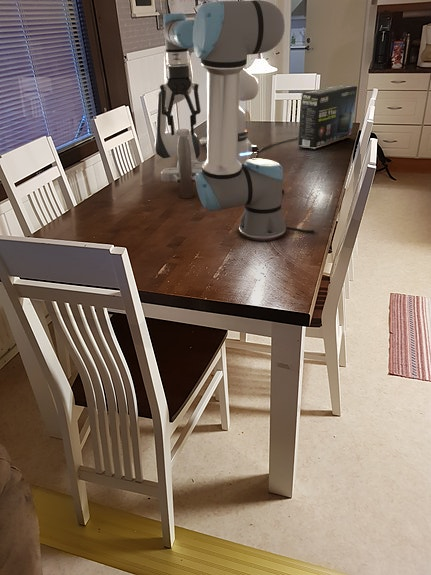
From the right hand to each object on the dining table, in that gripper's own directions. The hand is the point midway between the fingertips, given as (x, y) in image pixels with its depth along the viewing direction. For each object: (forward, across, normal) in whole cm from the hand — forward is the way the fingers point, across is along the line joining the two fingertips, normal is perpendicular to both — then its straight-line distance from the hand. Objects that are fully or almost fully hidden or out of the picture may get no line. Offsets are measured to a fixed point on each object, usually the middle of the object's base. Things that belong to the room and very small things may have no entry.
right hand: (182, 134), depth 169 cm
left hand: (+17, 0, -1) cm, 17 cm away
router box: (+24, +65, +79) cm, 105 cm away
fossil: (+24, +6, +81) cm, 85 cm away
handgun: (+24, +32, +10) cm, 42 cm away
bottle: (+24, 0, 0) cm, 24 cm away
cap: (-1, 0, 0) cm, 1 cm away
